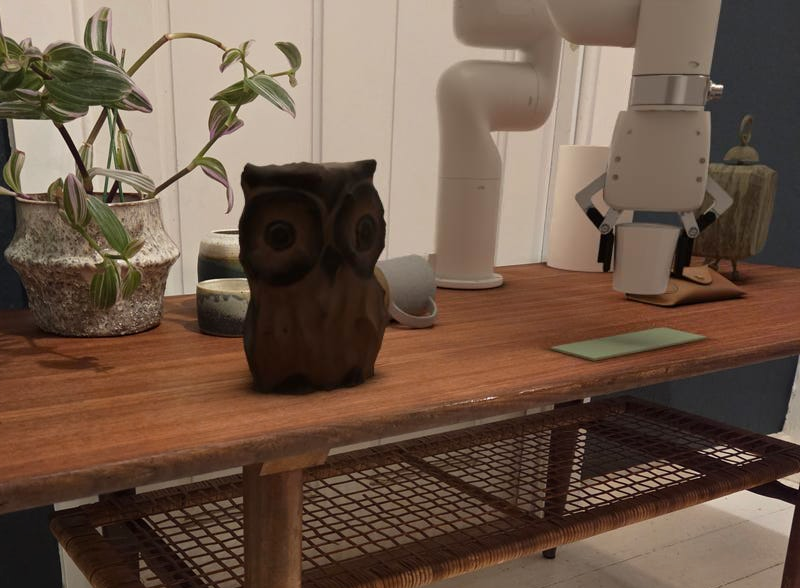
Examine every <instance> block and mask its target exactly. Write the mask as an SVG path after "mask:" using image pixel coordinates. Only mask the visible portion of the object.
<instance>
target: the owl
mask: <svg viewBox="0 0 800 588" xmlns="http://www.w3.org/2000/svg"><path fill="white" fill-rule="evenodd" d="M377 166H378V162H377V159H375V158H368V159H359V160H356V161H349V162H348V161H346V162H337V161H330V162H320V163H319V162H316V163H313V162H308V161H300V162H291V163H284V164H281V165H280V164H273V163H272V164H267V165H261V166H260V165H256V164H253V163H250V162H247V163H245V165H244V166H243V169H242V170H243V171H241V173H240V183H239V185H240V188H241V190H242V193H243V199H244V205H243V208H242V211H241V214H240V216H239V219H238V224H237V229H238V237H237V238H238V246H239V253H238V261H239V264H240V266H241V267H242V269H243V272H244V274H245V278H246V281H247V286H248V288H249V301H248V305H247V308H246V312H245V316H244V320H243V330H242V341H243V342H242V343H243V350H244V355H245V359H246V362H247V363H246V364H247V366H248V369H249V372H250V375H251V377H252V387H253V389H254V390H255V391H256V392H258V393H261V394H275V395H294V396H298V395H308V394H311V393H314V392H317V391H325V392H329V391H333V390H335V389H339V388H344V387H346V388H354V387H356V386H358V385H361V384H364V383H365V381H366V380H367V379H368V378H370V377H372V376H374V375H375V364H376V361H377V358H378V355H379V353H380V352H381V349H382V346H383V345H382V344H383V340H384V337H385V333H386V329H387V327H388V326H389V324H390V321H391V320H390V318H389V314H388V309H387V307H386V306H385V300H384V298H385V295H386V291H385V290H384V288H383V287H382V286H381V284H380V282H378V280H377V278H376V276H375V274H374V268H375V265H376V263H377V261H379V259H380V257H381V255H382V253H383V252H384V249H385V248H386V237H387V232H386V231H387V222H386V220H385V208H384V204H383V201H382V199H381V197H380V193H379V191H378V190H377V189H376V187H375V185H374V176H375V173H376V171H377Z"/></svg>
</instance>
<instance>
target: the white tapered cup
mask: <svg viewBox="0 0 800 588" xmlns="http://www.w3.org/2000/svg"><path fill="white" fill-rule="evenodd" d="M682 230H683V227H682V226H678V225H675V224H668V223H661V222H660V223H659V222H639V221H638V222H632V223H621V224H616V225H615V239H614V263H613V272H612V285H611V286H612V287H611V288H612V290H614V291H616V292H619V293H624V294H626V293H631V294H648V295H651V294H662V293H665V292H666V288H667V284H668V280H669V276H670V272H671V269H673V265H674V260H675V254H676V249H677V245H678V241H679V237H680V235H681V233H682Z"/></svg>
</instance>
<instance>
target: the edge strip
mask: <svg viewBox="0 0 800 588" xmlns="http://www.w3.org/2000/svg"><path fill="white" fill-rule="evenodd" d="M707 337H708V336H707V335H702V334H697V333H693V332H688V331H682V330H678V329H673V328H670V327H669V328H668V327H664V326H661V327H655V328H651V329H650V328H649V329H645V330H639V331H633V332H628V333H622V334H617V335H611V336H605V337H600V338H594V339H588V340H581V341H577V342H570V343H565V344H560V345H555V346H554V345H553V346H550V351H553V352H558V353H562V354H565V355H568V356H569V355H570V356H574V357H577V358H581V359H584V360H588V361H592V362H595V361H602V360H605V359H610V358H612V359H613V358H617V357H621V356H626V355H627V356H628V355H631V354H637V353H642V352H646V351H651V350H658V349H662V348H667V347H671V346H677V345H683V344H687V343H691V342H692V343H693V342H697V341H702V340H703V341H704V340H707Z"/></svg>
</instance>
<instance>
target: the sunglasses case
mask: <svg viewBox="0 0 800 588" xmlns="http://www.w3.org/2000/svg"><path fill="white" fill-rule="evenodd" d="M710 266H711V265H710V263H709V264H707V265H704V266H702V265H700V266H690V267H684V269H683V274H682V276H679V275H676V274H675V273H674V272H673V268H671V272H670V276H669V280H668V284H667V288H666V292H665V293H662V294H651V295H648V294H631V293H625V296H626V297H627V299H628V300H632V301H635V302H638V303H642V304H647V305H653V306H663V307H664V306H665V307H666V306H670V307H671V306H677V305H682V304H693V303H705V302H717V301H724V300H730V299H733V298H734V299H735V298H739V297H742V296H745V295H749V292H747V291H745V290H744V289H743V288H741V287H740V286H738V285H736V284H735V283H733V282H732V281H730V280H729V279H728V278H726V277H725V276H723V275H722V274H720V273H718V271H714V270H712V269H711V268H710Z"/></svg>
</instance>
